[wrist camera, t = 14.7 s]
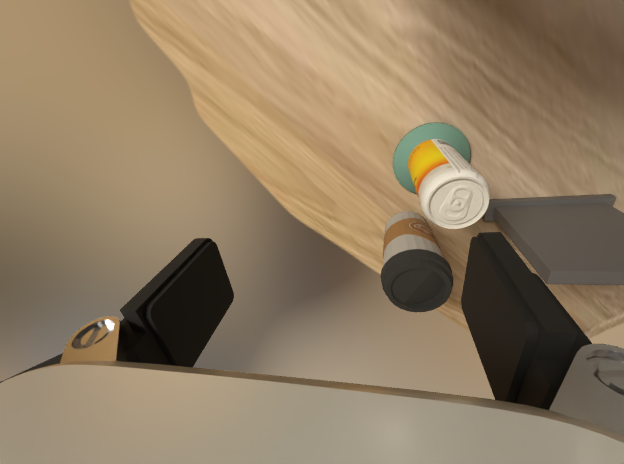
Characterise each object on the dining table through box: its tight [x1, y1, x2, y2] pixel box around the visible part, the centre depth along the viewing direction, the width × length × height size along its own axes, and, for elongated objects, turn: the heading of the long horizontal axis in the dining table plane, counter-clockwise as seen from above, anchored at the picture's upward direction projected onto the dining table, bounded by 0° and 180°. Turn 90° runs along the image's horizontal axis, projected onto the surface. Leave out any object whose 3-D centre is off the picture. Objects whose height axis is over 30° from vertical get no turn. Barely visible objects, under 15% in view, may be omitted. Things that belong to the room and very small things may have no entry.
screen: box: [482, 194, 624, 285], centre depth 33 cm, size 3×15×16 cm, turn 98°
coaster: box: [393, 123, 470, 194], centre depth 39 cm, size 10×10×1 cm
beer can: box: [408, 139, 490, 229], centre depth 33 cm, size 6×6×15 cm
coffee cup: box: [381, 211, 453, 312], centre depth 39 cm, size 8×8×15 cm
